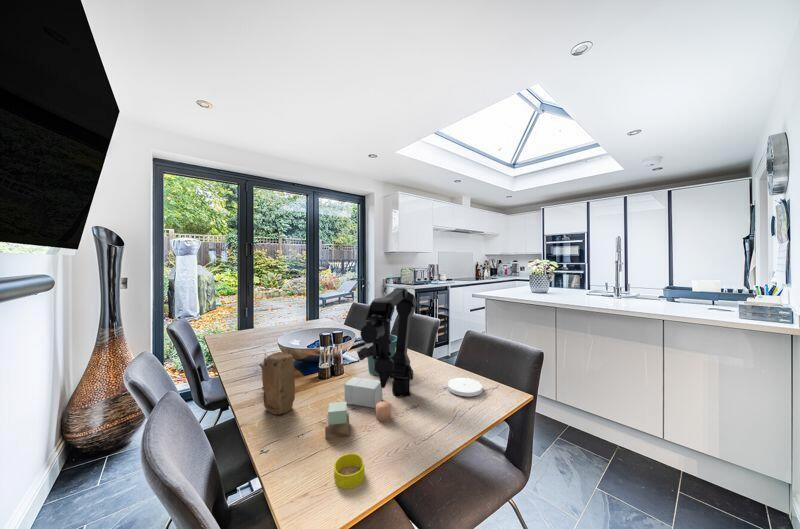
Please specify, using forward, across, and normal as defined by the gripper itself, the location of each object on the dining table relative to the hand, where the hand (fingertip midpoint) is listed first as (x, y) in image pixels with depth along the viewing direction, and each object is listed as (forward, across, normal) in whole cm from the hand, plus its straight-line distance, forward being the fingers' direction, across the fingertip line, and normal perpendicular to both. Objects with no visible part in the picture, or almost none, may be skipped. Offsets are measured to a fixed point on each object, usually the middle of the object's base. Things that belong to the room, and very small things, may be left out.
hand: (381, 382), depth 98 cm
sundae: (+12, -32, -46) cm, 57 cm away
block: (+13, -12, -36) cm, 40 cm away
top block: (+9, +5, -14) cm, 18 cm away
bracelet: (+14, +25, -10) cm, 30 cm away
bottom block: (+13, +5, -14) cm, 20 cm away
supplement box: (+8, -16, -12) cm, 21 cm away
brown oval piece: (+12, 0, +1) cm, 12 cm away
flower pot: (+11, -41, +3) cm, 43 cm away
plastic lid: (+12, -16, +35) cm, 40 cm away
